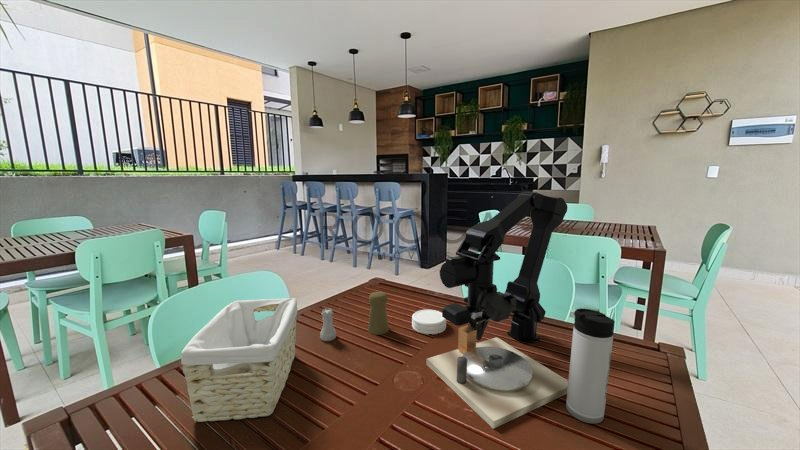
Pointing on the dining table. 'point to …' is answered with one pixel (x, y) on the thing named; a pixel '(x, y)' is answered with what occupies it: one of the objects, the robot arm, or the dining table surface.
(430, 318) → the coaster
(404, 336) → the dining table surface
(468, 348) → the flange plate
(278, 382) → the storage basket
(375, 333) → the cork
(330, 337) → the white chess piece
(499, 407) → the birch base board
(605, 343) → the travel mug
